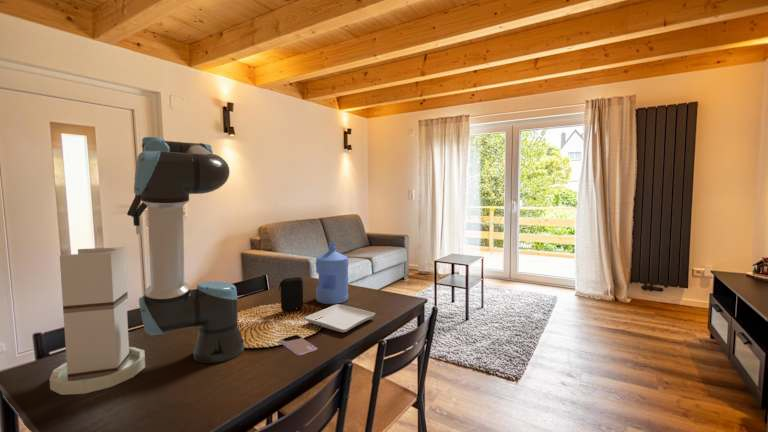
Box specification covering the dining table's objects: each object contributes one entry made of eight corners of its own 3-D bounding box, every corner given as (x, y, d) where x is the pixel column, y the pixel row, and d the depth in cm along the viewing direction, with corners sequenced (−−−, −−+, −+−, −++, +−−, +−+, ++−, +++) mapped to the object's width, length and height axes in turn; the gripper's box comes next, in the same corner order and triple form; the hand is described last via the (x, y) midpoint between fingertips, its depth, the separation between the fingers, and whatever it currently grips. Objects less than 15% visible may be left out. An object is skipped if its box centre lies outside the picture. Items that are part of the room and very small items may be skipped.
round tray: (160, 364, 107) (160, 355, 107) (77, 402, 88) (76, 391, 88) (119, 351, 116) (119, 342, 116) (36, 382, 97) (35, 372, 97)
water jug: (337, 293, 182) (336, 239, 180) (354, 300, 170) (354, 243, 168) (310, 299, 172) (309, 242, 170) (326, 307, 160) (326, 246, 158)
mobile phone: (297, 333, 129) (318, 347, 118) (297, 336, 130) (318, 350, 118) (277, 339, 124) (298, 354, 113) (277, 342, 124) (298, 357, 113)
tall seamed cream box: (130, 357, 110) (125, 247, 107) (117, 374, 100) (110, 253, 97) (86, 363, 106) (79, 249, 103) (67, 381, 96) (59, 255, 93)
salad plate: (376, 320, 146) (376, 312, 146) (344, 338, 128) (344, 329, 128) (337, 310, 157) (337, 303, 157) (302, 325, 139) (302, 317, 139)
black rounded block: (279, 313, 152) (278, 280, 151) (278, 311, 155) (277, 278, 154) (303, 309, 157) (303, 277, 156) (302, 307, 160) (301, 276, 158)
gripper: (179, 179, 149) (181, 228, 150) (113, 177, 126) (116, 235, 128) (191, 178, 146) (193, 229, 147) (126, 176, 123) (129, 236, 125)
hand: (157, 232), depth 138 cm, fingers open, 13 cm apart
